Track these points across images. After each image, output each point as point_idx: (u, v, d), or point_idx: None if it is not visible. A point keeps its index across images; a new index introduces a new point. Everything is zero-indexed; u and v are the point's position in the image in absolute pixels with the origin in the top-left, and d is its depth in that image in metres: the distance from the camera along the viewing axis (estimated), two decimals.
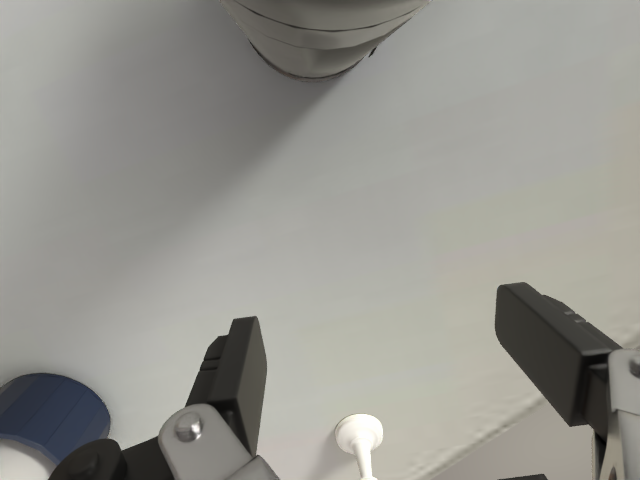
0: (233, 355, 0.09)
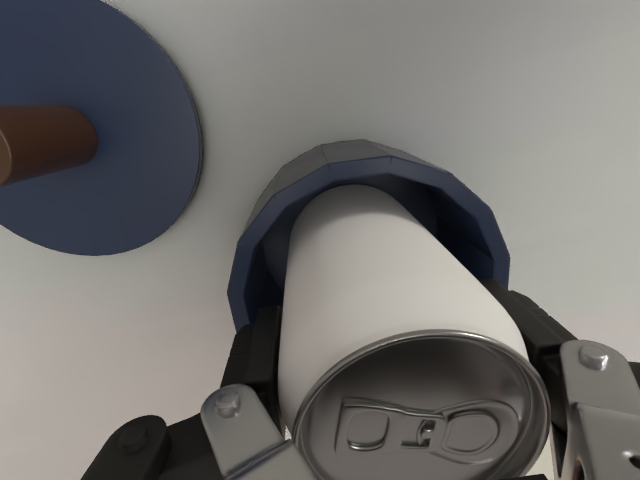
0: (262, 341, 0.10)
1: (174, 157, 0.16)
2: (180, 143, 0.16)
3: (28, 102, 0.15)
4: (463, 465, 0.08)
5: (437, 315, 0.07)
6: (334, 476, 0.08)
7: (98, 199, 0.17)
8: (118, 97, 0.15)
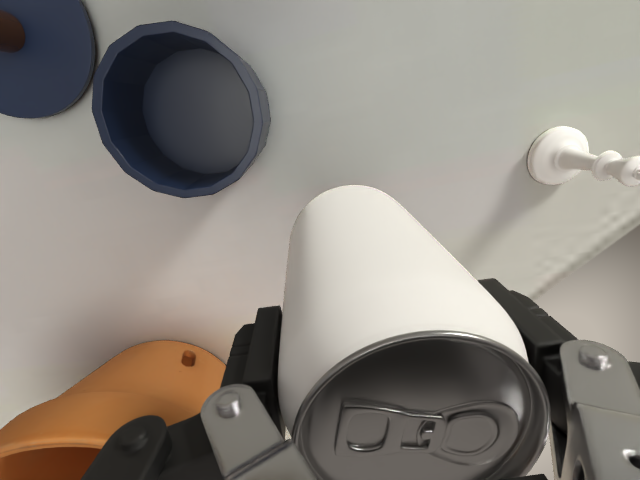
0: (262, 341, 0.10)
1: (75, 47, 0.25)
2: (78, 37, 0.25)
3: None
4: (462, 465, 0.08)
5: (436, 316, 0.07)
6: (334, 477, 0.08)
7: (28, 76, 0.26)
8: (36, 5, 0.24)
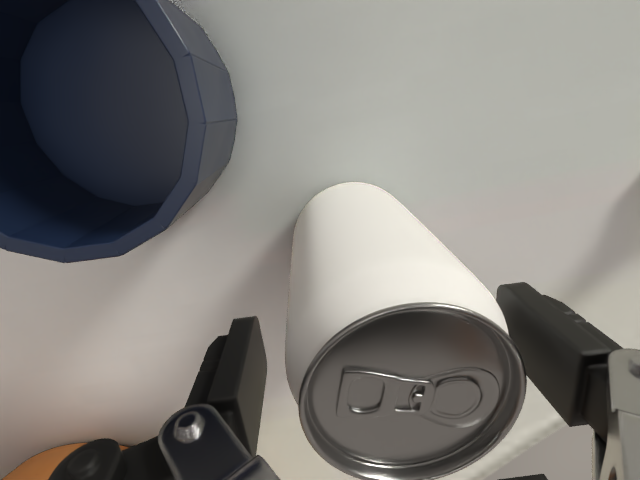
0: (233, 355, 0.09)
1: None
2: None
3: None
4: (450, 427, 0.09)
5: (425, 291, 0.08)
6: (336, 437, 0.09)
7: None
8: None
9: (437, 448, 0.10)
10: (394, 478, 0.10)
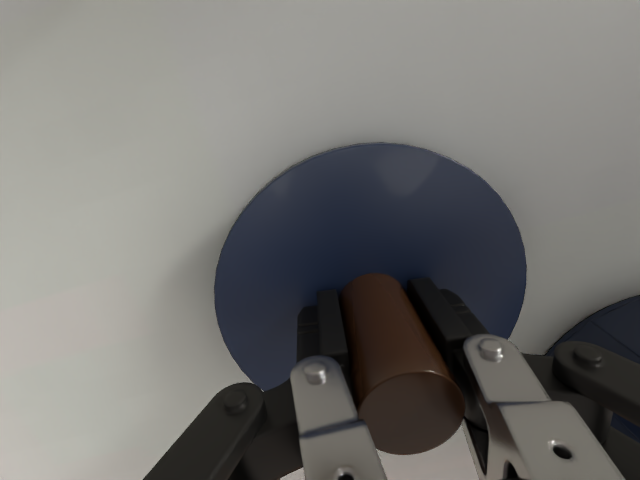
0: (330, 319, 0.10)
1: (488, 323, 0.14)
2: (500, 308, 0.13)
3: (339, 271, 0.12)
4: None
5: None
6: None
7: None
8: (445, 263, 0.13)
9: None
10: None
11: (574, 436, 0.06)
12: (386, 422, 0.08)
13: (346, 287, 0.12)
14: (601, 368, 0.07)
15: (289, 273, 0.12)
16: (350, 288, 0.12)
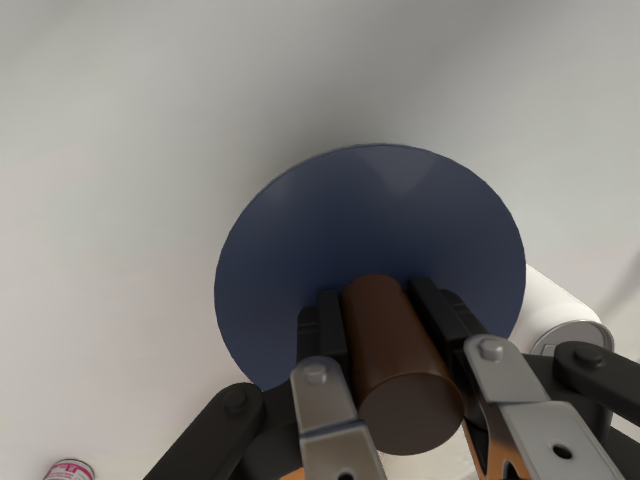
0: (330, 319, 0.10)
1: (488, 323, 0.14)
2: (500, 308, 0.13)
3: (339, 271, 0.12)
4: None
5: (577, 315, 0.22)
6: None
7: None
8: (444, 264, 0.13)
9: None
10: None
11: (575, 436, 0.06)
12: (385, 423, 0.08)
13: (346, 288, 0.12)
14: (601, 368, 0.07)
15: (289, 274, 0.12)
16: (350, 289, 0.12)
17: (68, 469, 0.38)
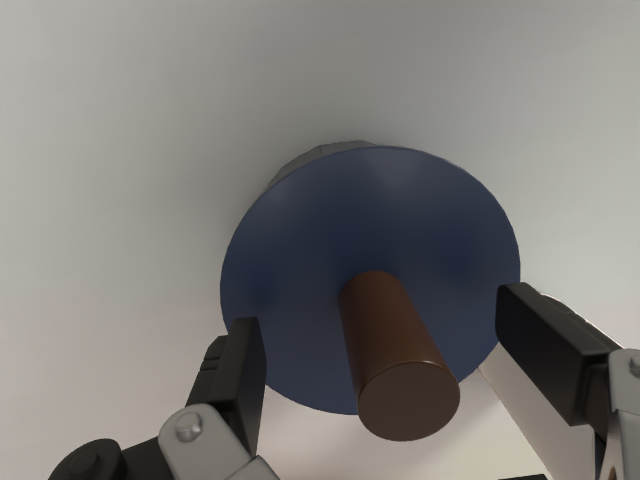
0: (233, 355, 0.09)
1: (484, 318, 0.14)
2: None
3: (340, 268, 0.13)
4: None
5: None
6: None
7: None
8: (442, 261, 0.13)
9: None
10: None
11: None
12: (385, 410, 0.09)
13: (347, 284, 0.13)
14: None
15: (292, 271, 0.13)
16: (350, 285, 0.13)
17: None
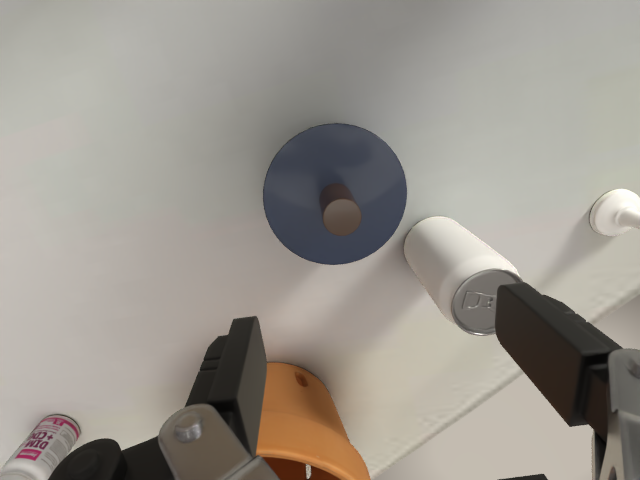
0: (233, 355, 0.09)
1: (391, 209, 0.29)
2: (396, 202, 0.28)
3: (320, 182, 0.28)
4: None
5: (494, 265, 0.26)
6: (460, 317, 0.27)
7: None
8: (367, 178, 0.28)
9: None
10: (480, 333, 0.27)
11: None
12: (333, 220, 0.23)
13: (323, 189, 0.28)
14: None
15: (297, 183, 0.28)
16: (324, 189, 0.27)
17: (55, 422, 0.42)
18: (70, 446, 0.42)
